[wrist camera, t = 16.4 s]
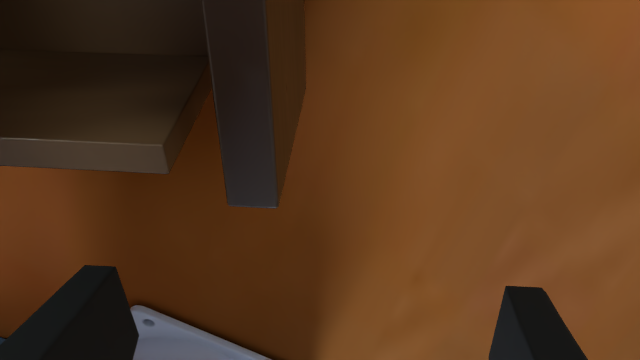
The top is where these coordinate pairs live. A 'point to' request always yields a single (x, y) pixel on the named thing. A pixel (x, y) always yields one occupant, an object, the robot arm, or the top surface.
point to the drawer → (153, 86)
